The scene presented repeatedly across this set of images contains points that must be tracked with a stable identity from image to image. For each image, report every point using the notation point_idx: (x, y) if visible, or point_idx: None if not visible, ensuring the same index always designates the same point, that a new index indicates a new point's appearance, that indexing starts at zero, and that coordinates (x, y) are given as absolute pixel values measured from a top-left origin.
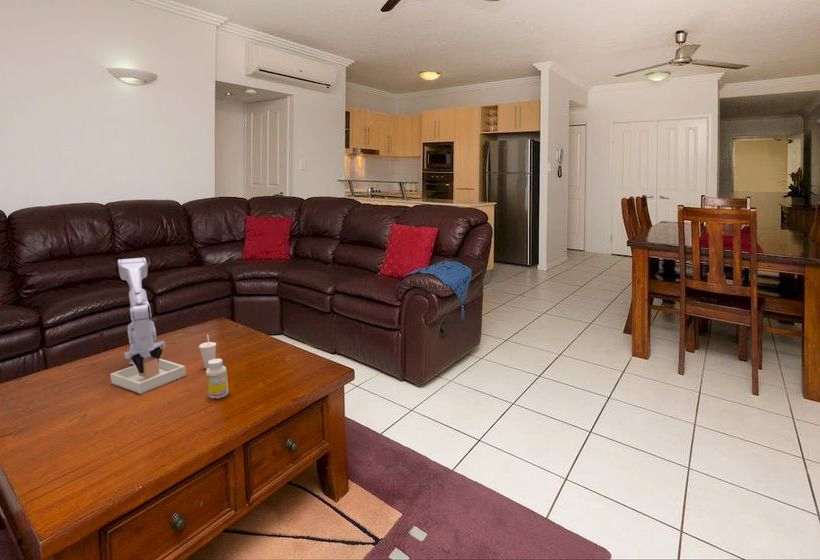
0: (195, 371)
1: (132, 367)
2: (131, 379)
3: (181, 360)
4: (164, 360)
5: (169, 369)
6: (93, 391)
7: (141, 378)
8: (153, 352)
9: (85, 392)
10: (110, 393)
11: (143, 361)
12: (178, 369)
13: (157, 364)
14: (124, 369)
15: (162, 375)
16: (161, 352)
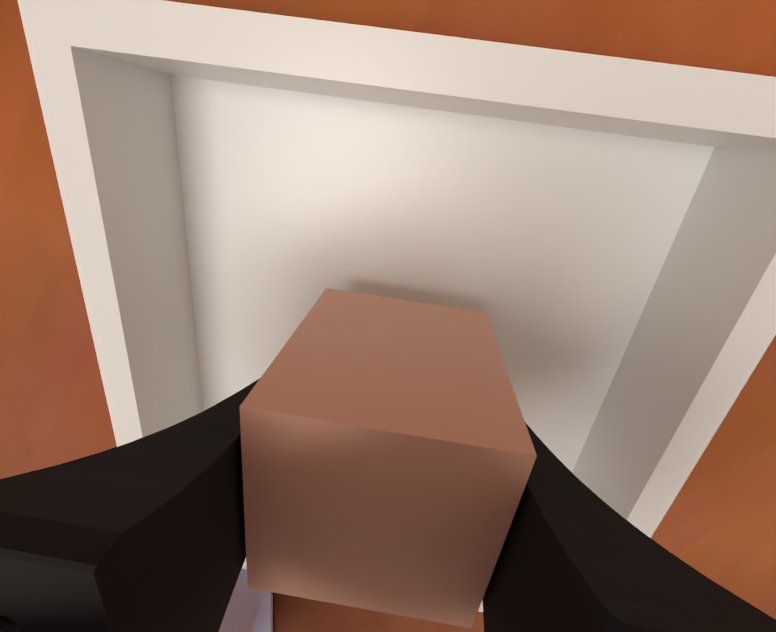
0: (12, 34)
1: None
2: (721, 359)
3: (11, 407)
4: (125, 443)
5: (182, 315)
6: (710, 548)
7: None
8: (176, 618)
9: (732, 577)
10: (742, 420)
11: (471, 526)
12: (156, 5)
13: (300, 346)
14: None
15: (457, 43)
16: (37, 477)
